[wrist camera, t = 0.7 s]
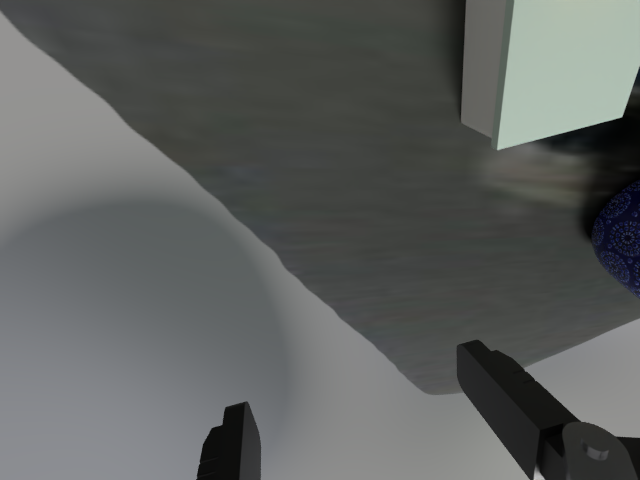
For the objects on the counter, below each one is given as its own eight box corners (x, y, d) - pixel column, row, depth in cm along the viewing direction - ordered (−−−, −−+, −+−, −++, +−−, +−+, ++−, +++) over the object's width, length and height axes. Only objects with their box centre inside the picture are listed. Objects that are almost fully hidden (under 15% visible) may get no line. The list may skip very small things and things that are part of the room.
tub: (468, -50, 27) (520, -72, 21) (592, -85, 26) (680, -117, 21) (460, 122, 35) (496, 140, 30) (554, 97, 35) (609, 110, 29)
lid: (503, -75, 22) (588, -113, 16) (672, -123, 21) (822, -180, 16) (484, 143, 31) (533, 169, 25) (601, 112, 31) (679, 131, 25)
